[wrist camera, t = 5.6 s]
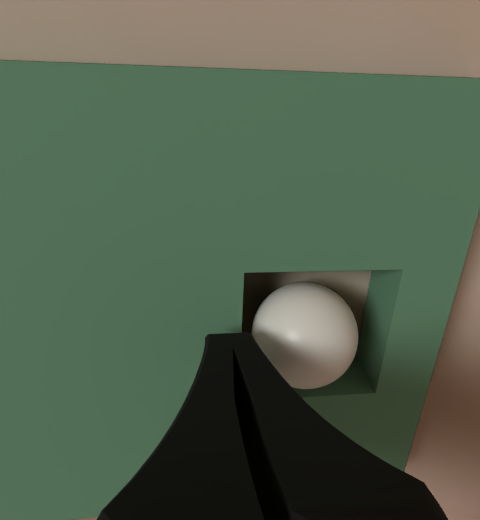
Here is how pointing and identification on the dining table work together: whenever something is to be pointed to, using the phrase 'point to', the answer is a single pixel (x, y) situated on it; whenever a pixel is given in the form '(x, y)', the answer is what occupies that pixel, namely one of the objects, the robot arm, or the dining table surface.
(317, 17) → the dining table surface
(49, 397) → the putting deck
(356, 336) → the ball
